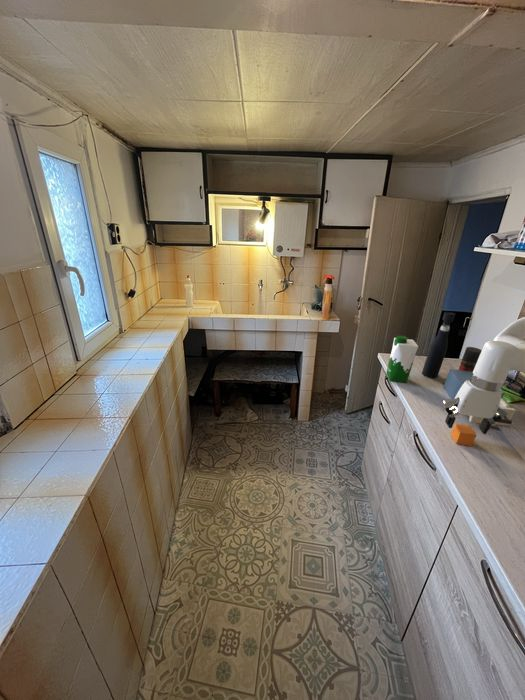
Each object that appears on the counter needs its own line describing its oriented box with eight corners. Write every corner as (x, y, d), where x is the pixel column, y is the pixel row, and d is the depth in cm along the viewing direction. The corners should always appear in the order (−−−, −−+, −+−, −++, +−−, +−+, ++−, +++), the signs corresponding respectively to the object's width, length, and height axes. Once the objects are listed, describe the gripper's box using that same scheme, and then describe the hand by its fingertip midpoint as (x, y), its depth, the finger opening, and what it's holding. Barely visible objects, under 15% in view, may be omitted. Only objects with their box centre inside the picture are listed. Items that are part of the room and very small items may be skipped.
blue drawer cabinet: (494, 414, 105) (504, 393, 101) (457, 408, 107) (465, 388, 103) (476, 391, 119) (483, 373, 115) (443, 387, 121) (450, 368, 117)
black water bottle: (420, 375, 130) (440, 313, 117) (422, 370, 135) (442, 309, 122) (436, 380, 127) (458, 316, 114) (437, 374, 131) (459, 312, 119)
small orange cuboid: (465, 436, 93) (470, 425, 91) (471, 446, 89) (476, 435, 87) (450, 434, 94) (455, 423, 92) (455, 443, 90) (460, 432, 88)
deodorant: (453, 375, 131) (463, 346, 125) (467, 377, 130) (478, 347, 124) (458, 381, 126) (470, 351, 120) (473, 383, 125) (485, 353, 118)
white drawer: (514, 437, 92) (524, 419, 89) (476, 430, 94) (484, 413, 91) (486, 403, 109) (494, 387, 106) (454, 398, 111) (460, 383, 108)
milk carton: (383, 372, 131) (393, 332, 123) (404, 374, 130) (415, 334, 121) (388, 382, 123) (398, 340, 115) (409, 384, 122) (422, 342, 114)
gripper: (512, 380, 84) (489, 426, 91) (448, 371, 87) (431, 416, 94) (527, 394, 77) (502, 441, 84) (458, 383, 80) (439, 430, 87)
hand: (465, 428), depth 89 cm, fingers open, 9 cm apart
